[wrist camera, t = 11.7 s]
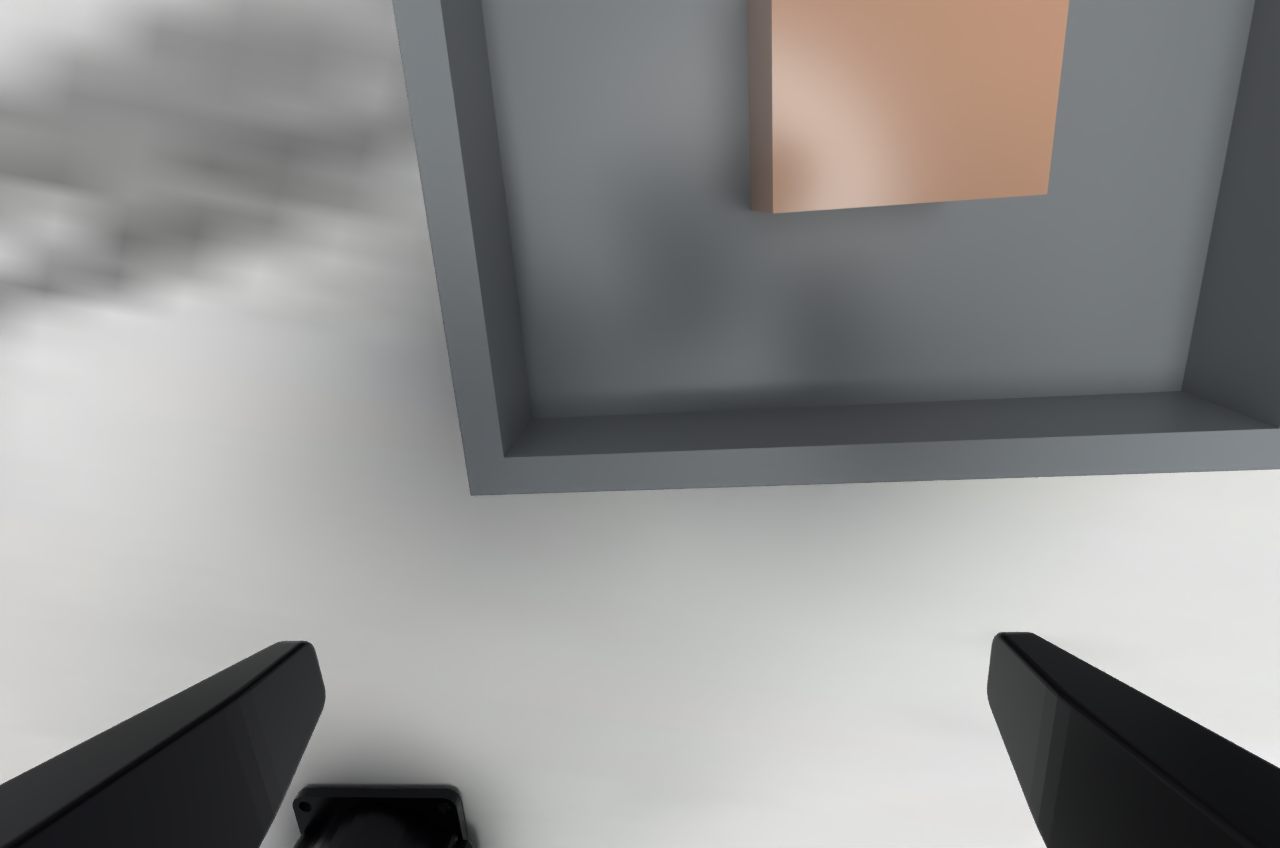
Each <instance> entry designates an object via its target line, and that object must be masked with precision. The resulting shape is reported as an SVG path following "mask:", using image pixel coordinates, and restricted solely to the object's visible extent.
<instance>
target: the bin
mask: <svg viewBox="0 0 1280 848" xmlns="http://www.w3.org/2000/svg"><path fill="white" fill-rule="evenodd" d="M392 1H393V7H394V14H395V20H396V26H397V33H398V39H399V45H400V51H401V58H402V64H403V70H404V77H405V83H406V89H407V96H408V102H409V108H410V115H411V121H412V127H413V133H414V140H415V146H416V152H417V159H418V165H419V171H420V178H421V184H422V190H423V197H424V203H425V209H426V216H427V222H428V228H429V234H430V241H431V247H432V253H433V260H434V266H435V272H436V279H437V285H438V291H439V298H440V304H441V310H442V317H443V323H444V329H445V335H446V342H447V348H448V354H449V361H450V367H451V373H452V380H453V386H454V392H455V399H456V405H457V411H458V417H459V424H460V430H461V436H462V443H463V449H464V455H465V462H466V468H467V474H468V481H469V487H470V493H471V496H472V495H503V494H534V493H564V492H595V491H626V490H656V489H687V488H718V487H748V486H779V485H810V484H840V483H871V482H901V481H932V480H963V479H993V478H1024V477H1055V476H1085V475H1116V474H1147V473H1177V472H1208V471H1238V470H1269V469H1280V0H1069V8H1068V16H1067V25H1066V34H1065V43H1064V51H1063V60H1062V69H1061V78H1060V86H1059V95H1058V104H1057V113H1056V122H1055V130H1054V139H1053V148H1052V157H1051V165H1050V174H1049V183H1048V192H1047V194H1045V195H1031V196H1017V197H1002V198H988V199H974V200H959V201H945V202H930V203H916V204H902V205H887V206H873V207H858V208H844V209H830V210H815V211H801V212H786V213H765V212H757V211H751V200H750V138H749V75H748V13H747V0H392Z"/></svg>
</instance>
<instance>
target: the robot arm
mask: <svg viewBox="0 0 1280 848" xmlns="http://www.w3.org/2000/svg"><path fill="white" fill-rule="evenodd" d="M987 695H988V701H989V705H990V708H991V710H992V713H993V716H994V718H995V721H996V723H997V726H998V729H999V731H1000V734H1001V736H1002V739H1003V741H1004V744H1005V747H1006V749H1007V752H1008V754H1009V757H1010V760H1011V762H1012V765H1013V767H1014V770H1015V772H1016V775H1017V778H1018V780H1019V783H1020V785H1021V788H1022V791H1023V793H1024V796H1025V798H1026V801H1027V804H1028V806H1029V809H1030V811H1031V813H1032V816H1033V818H1034V821H1035V823H1036V825H1037V828H1038V830H1039V832H1040V834H1041V836H1042V838H1043V840H1044V842H1045V844H1046V846H1047V848H1280V768H1278V767H1276V766H1275V765H1273V764H1271V763H1269V762H1267V761H1266V760H1264V759H1262V758H1260V757H1258V756H1256V755H1255V754H1253V753H1251V752H1249V751H1247V750H1245V749H1244V748H1242V747H1240V746H1238V745H1236V744H1234V743H1233V742H1231V741H1229V740H1227V739H1225V738H1224V737H1222V736H1220V735H1218V734H1216V733H1214V732H1213V731H1211V730H1209V729H1207V728H1205V727H1203V726H1202V725H1200V724H1198V723H1196V722H1194V721H1192V720H1191V719H1189V718H1187V717H1185V716H1183V715H1182V714H1180V713H1178V712H1176V711H1174V710H1172V709H1171V708H1169V707H1167V706H1165V705H1163V704H1161V703H1160V702H1158V701H1156V700H1154V699H1152V698H1150V697H1149V696H1147V695H1145V694H1143V693H1141V692H1140V691H1138V690H1136V689H1134V688H1132V687H1130V686H1129V685H1127V684H1125V683H1123V682H1121V681H1119V680H1118V679H1116V678H1114V677H1112V676H1110V675H1108V674H1107V673H1105V672H1103V671H1101V670H1099V669H1098V668H1096V667H1094V666H1092V665H1090V664H1088V663H1087V662H1085V661H1083V660H1081V659H1079V658H1077V657H1076V656H1074V655H1072V654H1070V653H1068V652H1066V651H1065V650H1063V649H1061V648H1059V647H1057V646H1056V645H1054V644H1052V643H1050V642H1048V641H1046V640H1045V639H1043V638H1041V637H1039V636H1037V635H1035V634H1033V633H1030V632H1001V633H998V634H997V635H996V636H995V637H994V639H993V642H992V648H991V656H990V665H989V674H988V683H987ZM324 703H325V686H324V683H323V679H322V675H321V671H320V667H319V663H318V659H317V655H316V651H315V649H314V647H313V645H312V644H311V643H309V642H307V641H281V642H277V643H275V644H273V645H271V646H269V647H267V648H265V649H263V650H261V651H259V652H257V653H255V654H253V655H252V656H250V657H248V658H246V659H244V660H242V661H240V662H238V663H236V664H234V665H232V666H230V667H228V668H226V669H224V670H222V671H220V672H219V673H217V674H215V675H213V676H211V677H209V678H207V679H205V680H203V681H201V682H199V683H197V684H195V685H193V686H191V687H189V688H187V689H186V690H184V691H182V692H180V693H178V694H176V695H174V696H172V697H170V698H168V699H166V700H164V701H162V702H160V703H158V704H156V705H154V706H153V707H151V708H149V709H147V710H145V711H143V712H141V713H139V714H137V715H135V716H133V717H131V718H129V719H127V720H125V721H123V722H121V723H120V724H118V725H116V726H114V727H112V728H110V729H108V730H106V731H104V732H102V733H100V734H98V735H96V736H94V737H92V738H90V739H88V740H87V741H85V742H83V743H81V744H79V745H77V746H75V747H73V748H71V749H69V750H67V751H65V752H63V753H61V754H59V755H57V756H55V757H54V758H52V759H50V760H48V761H46V762H44V763H42V764H40V765H38V766H36V767H34V768H32V769H30V770H28V771H26V772H24V773H22V774H21V775H19V776H17V777H15V778H13V779H11V780H9V781H7V782H5V783H3V784H1V785H0V848H259V847H260V845H261V843H262V841H263V839H264V838H265V836H266V834H267V832H268V830H269V828H270V826H271V824H272V822H273V820H274V818H275V816H276V814H277V812H278V810H279V808H280V806H281V804H282V801H283V799H284V797H285V795H286V793H287V790H288V788H289V786H290V783H291V781H292V779H293V777H294V774H295V772H296V770H297V767H298V765H299V763H300V761H301V758H302V756H303V754H304V751H305V749H306V747H307V745H308V742H309V740H310V738H311V736H312V733H313V731H314V729H315V726H316V724H317V722H318V720H319V717H320V715H321V713H322V710H323V707H324ZM445 803H446V804H445ZM293 809H294V812H295V816H296V819H297V822H298V826H299V829H300V833H301V836H300V838H299V839H298V841H297V843H296V844H295V846H294V848H474V846H473V844H472V843H471V841H470V840H468V836H467V830H466V825H465V820H464V815H463V810H462V805H461V799H460V797H459V795H458V794H457V793H456V792H454V791H452V790H448V789H369V788H305V789H302V790H301V791H300V792H299V794H298V795H297V797H296V798H295V800H294V801H293Z"/></svg>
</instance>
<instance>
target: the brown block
mask: <svg viewBox="0 0 1280 848" xmlns="http://www.w3.org/2000/svg"><path fill="white" fill-rule="evenodd" d="M1068 8H1069V0H747V13H748V75H749V138H750V200H751V211H757V212H765V213H786V212H801V211H815V210H830V209H844V208H858V207H873V206H887V205H902V204H916V203H930V202H945V201H959V200H974V199H988V198H1002V197H1017V196H1031V195H1045V194H1047V192H1048V183H1049V174H1050V165H1051V157H1052V148H1053V139H1054V130H1055V122H1056V113H1057V104H1058V95H1059V86H1060V78H1061V69H1062V60H1063V51H1064V43H1065V34H1066V25H1067V16H1068Z"/></svg>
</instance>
